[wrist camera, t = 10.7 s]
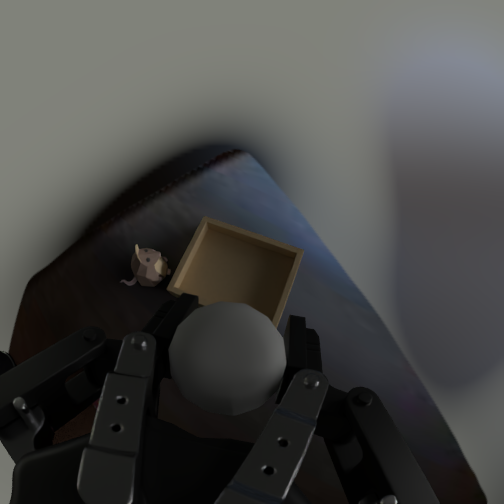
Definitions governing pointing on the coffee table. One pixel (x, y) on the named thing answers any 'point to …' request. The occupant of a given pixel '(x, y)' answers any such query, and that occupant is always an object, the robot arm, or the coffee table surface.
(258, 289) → the tray
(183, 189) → the coffee table surface
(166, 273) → the mouse figurine
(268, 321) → the salt shaker
